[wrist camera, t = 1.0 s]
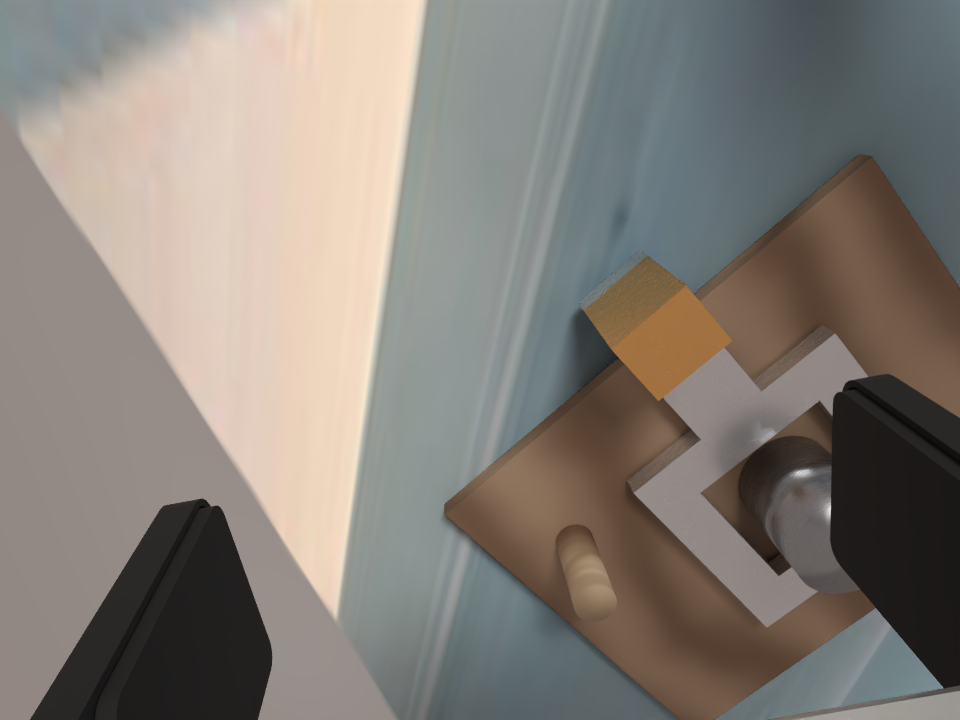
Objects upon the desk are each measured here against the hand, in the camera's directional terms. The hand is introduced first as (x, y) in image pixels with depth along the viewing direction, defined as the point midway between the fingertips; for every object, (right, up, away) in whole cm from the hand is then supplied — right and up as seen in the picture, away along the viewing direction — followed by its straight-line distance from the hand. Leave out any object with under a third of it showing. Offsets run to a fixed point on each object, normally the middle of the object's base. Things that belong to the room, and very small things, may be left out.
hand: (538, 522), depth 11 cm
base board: (+14, -4, +28) cm, 31 cm away
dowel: (+4, -7, +27) cm, 28 cm away
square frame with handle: (+12, -1, +25) cm, 28 cm away
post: (+15, -4, +27) cm, 31 cm away
